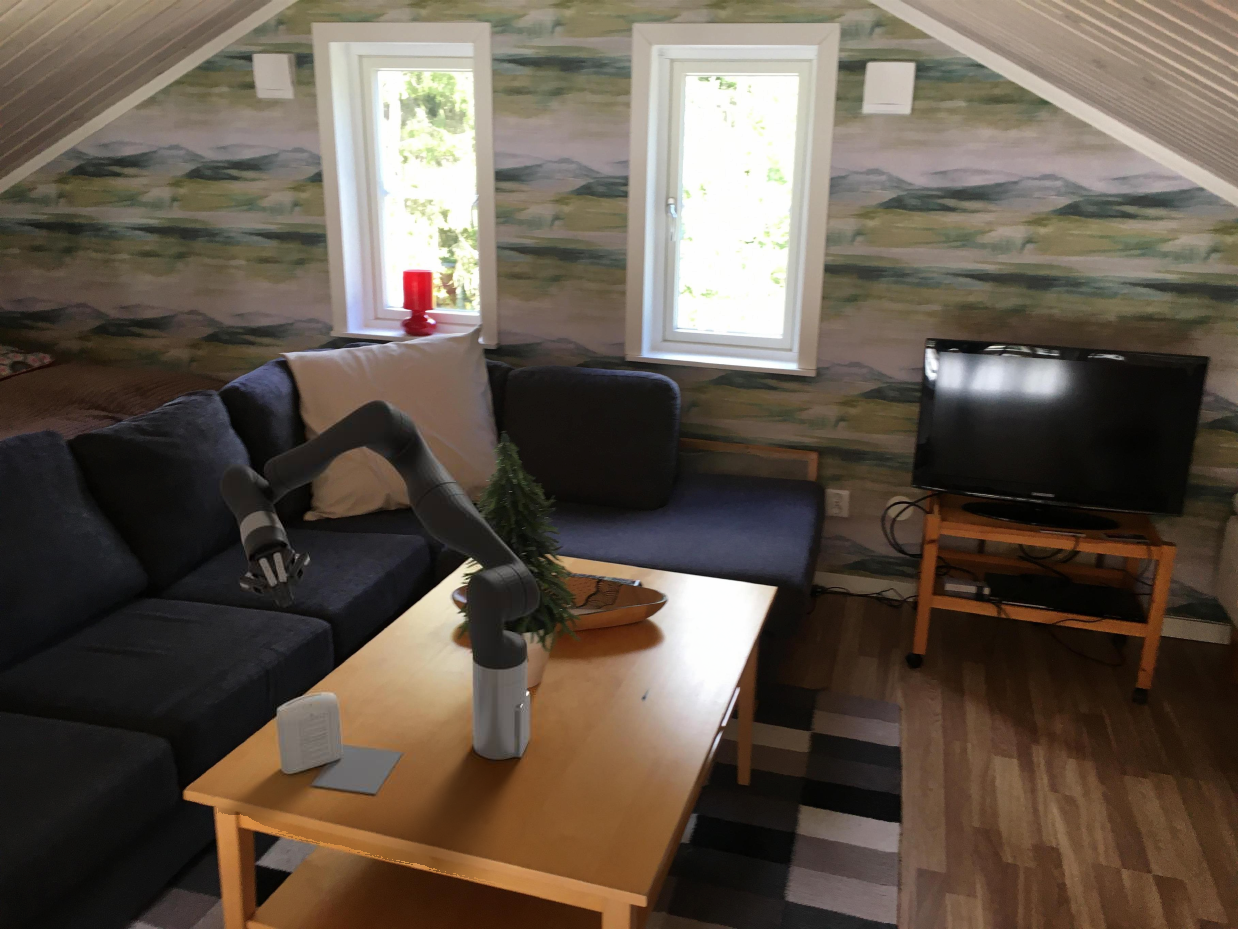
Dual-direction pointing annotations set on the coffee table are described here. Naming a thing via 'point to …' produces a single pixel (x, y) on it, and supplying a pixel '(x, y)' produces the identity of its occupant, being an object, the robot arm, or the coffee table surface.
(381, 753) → the mat
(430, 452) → the robot arm
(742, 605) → the coffee table surface
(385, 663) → the coffee table surface
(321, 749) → the photo printer
